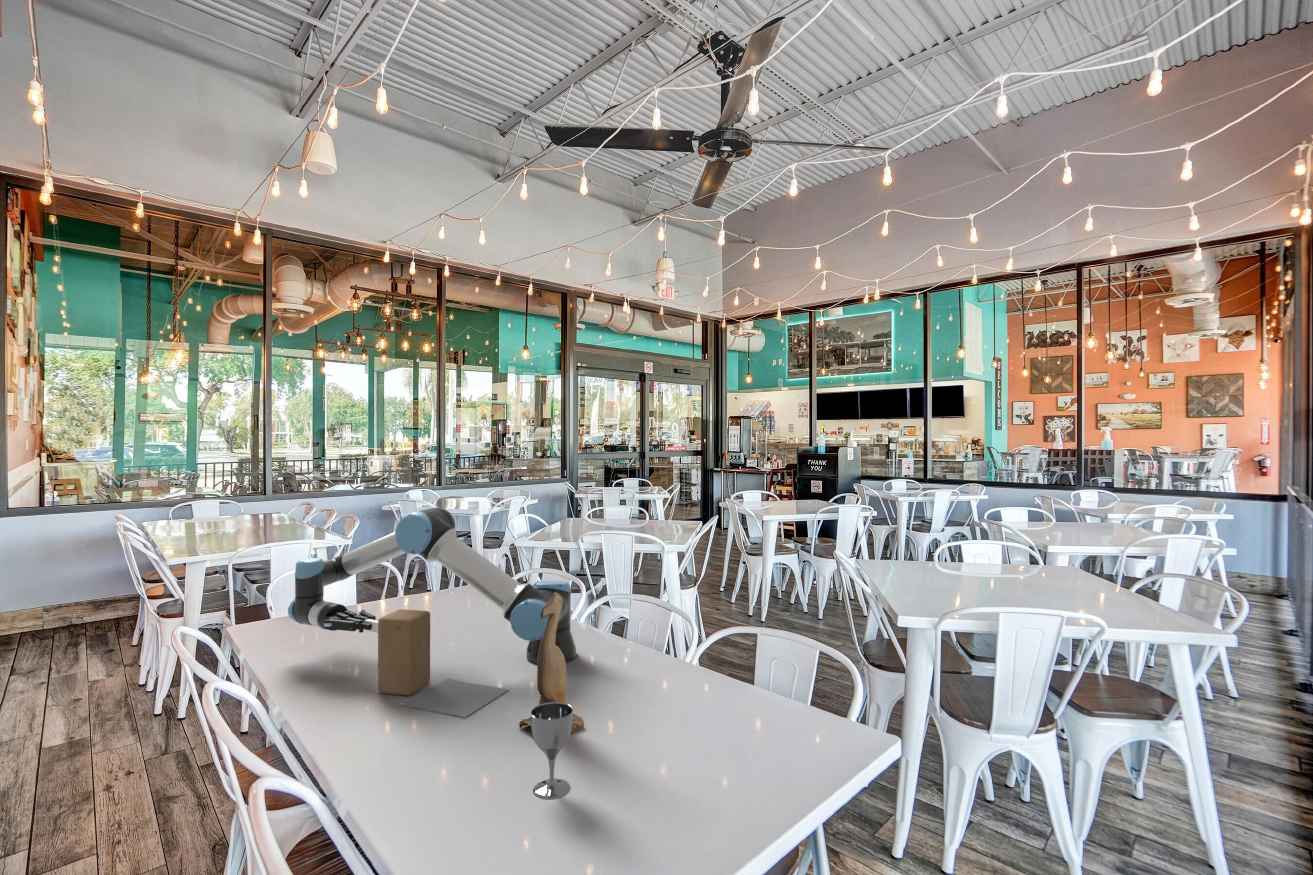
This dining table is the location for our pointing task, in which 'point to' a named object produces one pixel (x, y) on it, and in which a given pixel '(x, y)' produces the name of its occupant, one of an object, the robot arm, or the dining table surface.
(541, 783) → the wine glass
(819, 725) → the dining table surface
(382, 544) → the robot arm
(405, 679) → the wooden block
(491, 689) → the mat
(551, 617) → the bird sculpture
